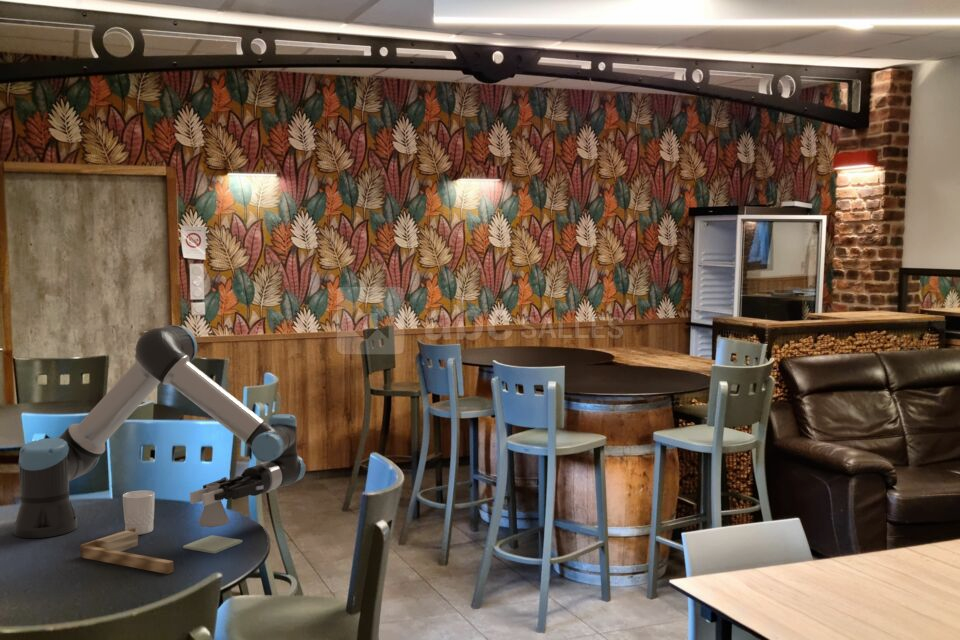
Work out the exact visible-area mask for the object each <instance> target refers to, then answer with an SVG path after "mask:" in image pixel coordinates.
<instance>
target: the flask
mask: <svg viewBox="0 0 960 640" xmlns="http://www.w3.org/2000/svg"><path fill="white" fill-rule="evenodd" d="M210 483H211V484H209V483H206V484H207V485H206V484H205V485H206V487H207V493H208V492H212V491H215V490H218V489H219V487H220V484H219V483H212V482H210ZM230 522H231V521H230V519H229V517H228V514H227V512H226V510H225V508H224V504H223V502H222V500H221V501H218V502H215V503H212V504H209V505H206V506H203V509H202V512H201V515H200V517H199V521H198V523H197V525H199V526H201V527H204V528H216V527H222V526H225V525H227V524H229V523H230Z"/></svg>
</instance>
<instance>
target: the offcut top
mask: <svg viewBox="0 0 960 640" xmlns="http://www.w3.org/2000/svg"><path fill="white" fill-rule="evenodd" d="M123 531H124V530H123ZM120 532H121V531H120ZM117 533H118V532H117ZM113 534H114V535H112V534H110V535H111V536H109V535H107V536H108V537H106V536H103V537H104V538H103V537H100V538H101V539H100V538H97V539H98V540H97V539H95V540H96V546H97V547H99V548H104V549H110V550H111V549H114V548H117V547H120V546H123V545H127V544H130V543H133V542H136V541H139V535H138V533H136V532H131V531H124V532H121V533H118V534H115V533H113Z"/></svg>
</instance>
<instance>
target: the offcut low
mask: <svg viewBox="0 0 960 640" xmlns="http://www.w3.org/2000/svg"><path fill="white" fill-rule="evenodd" d="M138 541H139V540H138ZM138 541H136V542H133V543H130V544H127V545H123V546H120V547H117V548H114V549H111V550H115V551H121V552H125V551H127V550H129V549H132V548H134V547H138V546H139V545H138Z"/></svg>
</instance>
